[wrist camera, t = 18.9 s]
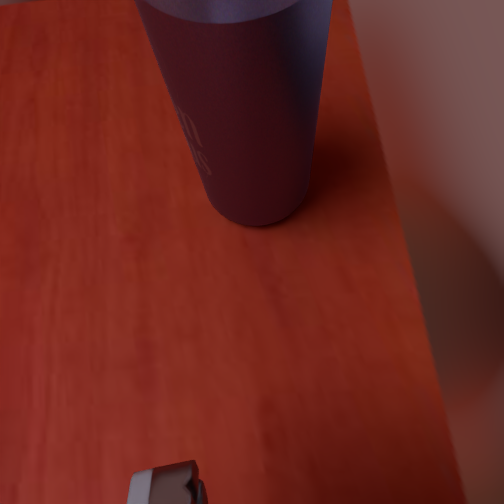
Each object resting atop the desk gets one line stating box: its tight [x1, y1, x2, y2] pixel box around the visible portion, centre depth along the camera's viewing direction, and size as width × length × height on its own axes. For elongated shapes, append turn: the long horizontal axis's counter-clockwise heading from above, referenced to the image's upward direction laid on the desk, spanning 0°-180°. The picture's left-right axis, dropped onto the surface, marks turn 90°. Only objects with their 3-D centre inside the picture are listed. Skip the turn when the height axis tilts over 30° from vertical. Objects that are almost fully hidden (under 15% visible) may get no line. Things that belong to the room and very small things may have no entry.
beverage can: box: [134, 0, 333, 226], centre depth 17 cm, size 6×6×15 cm
